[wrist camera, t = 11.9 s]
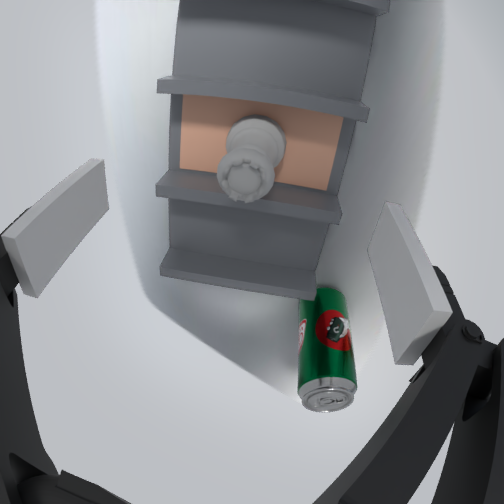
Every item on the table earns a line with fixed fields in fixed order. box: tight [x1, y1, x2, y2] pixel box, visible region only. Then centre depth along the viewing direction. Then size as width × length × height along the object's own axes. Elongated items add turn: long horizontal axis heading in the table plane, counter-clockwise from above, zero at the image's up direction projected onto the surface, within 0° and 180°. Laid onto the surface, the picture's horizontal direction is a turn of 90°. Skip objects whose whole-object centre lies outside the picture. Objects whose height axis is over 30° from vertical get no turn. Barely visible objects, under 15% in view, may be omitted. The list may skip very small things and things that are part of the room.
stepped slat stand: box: [156, 0, 390, 301], centre depth 22 cm, size 25×14×4 cm, turn 173°
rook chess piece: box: [217, 114, 287, 203], centre depth 20 cm, size 4×4×8 cm
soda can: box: [298, 287, 357, 412], centre depth 28 cm, size 5×5×12 cm
